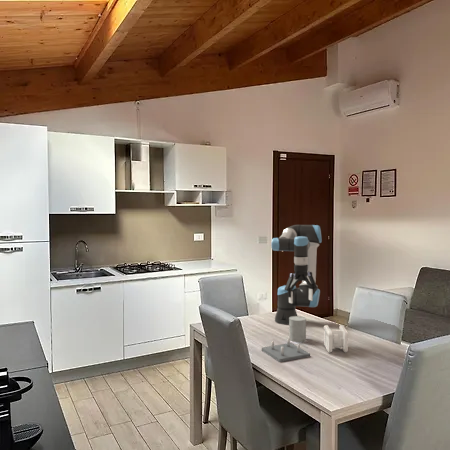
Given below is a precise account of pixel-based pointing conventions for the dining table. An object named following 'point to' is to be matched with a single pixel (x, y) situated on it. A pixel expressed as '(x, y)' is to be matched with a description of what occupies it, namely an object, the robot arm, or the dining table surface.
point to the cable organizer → (335, 338)
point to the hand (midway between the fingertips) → (300, 301)
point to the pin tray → (285, 351)
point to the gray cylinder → (297, 329)
